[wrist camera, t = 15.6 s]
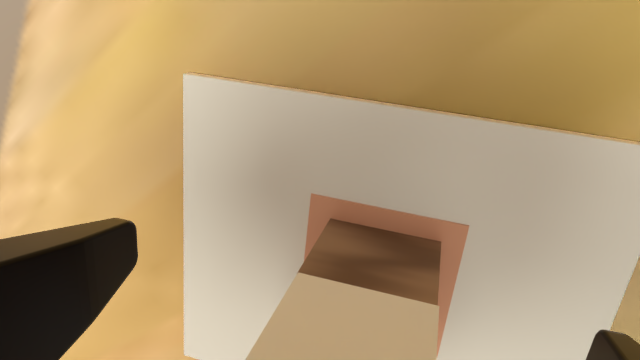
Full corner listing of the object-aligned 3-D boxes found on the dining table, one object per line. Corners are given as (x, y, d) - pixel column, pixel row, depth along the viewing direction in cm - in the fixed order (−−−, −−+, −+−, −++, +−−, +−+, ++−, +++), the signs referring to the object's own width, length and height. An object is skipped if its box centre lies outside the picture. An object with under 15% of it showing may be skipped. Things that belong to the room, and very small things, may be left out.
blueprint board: (674, 147, 17) (682, 152, 17) (552, 454, 23) (555, 467, 23) (190, 72, 22) (182, 73, 21) (189, 348, 27) (183, 356, 27)
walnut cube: (441, 241, 20) (437, 307, 16) (421, 334, 22) (412, 418, 18) (330, 218, 21) (296, 273, 17) (319, 309, 23) (286, 381, 19)
